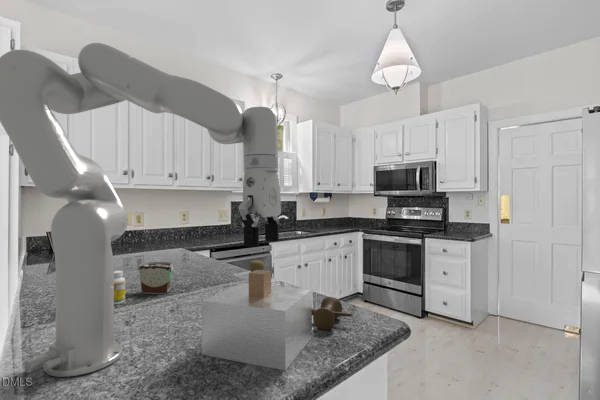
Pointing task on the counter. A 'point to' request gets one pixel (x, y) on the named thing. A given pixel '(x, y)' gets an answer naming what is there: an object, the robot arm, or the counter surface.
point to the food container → (155, 277)
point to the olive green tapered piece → (256, 265)
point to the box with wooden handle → (257, 322)
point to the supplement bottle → (119, 287)
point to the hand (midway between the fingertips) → (262, 243)
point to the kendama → (328, 313)
